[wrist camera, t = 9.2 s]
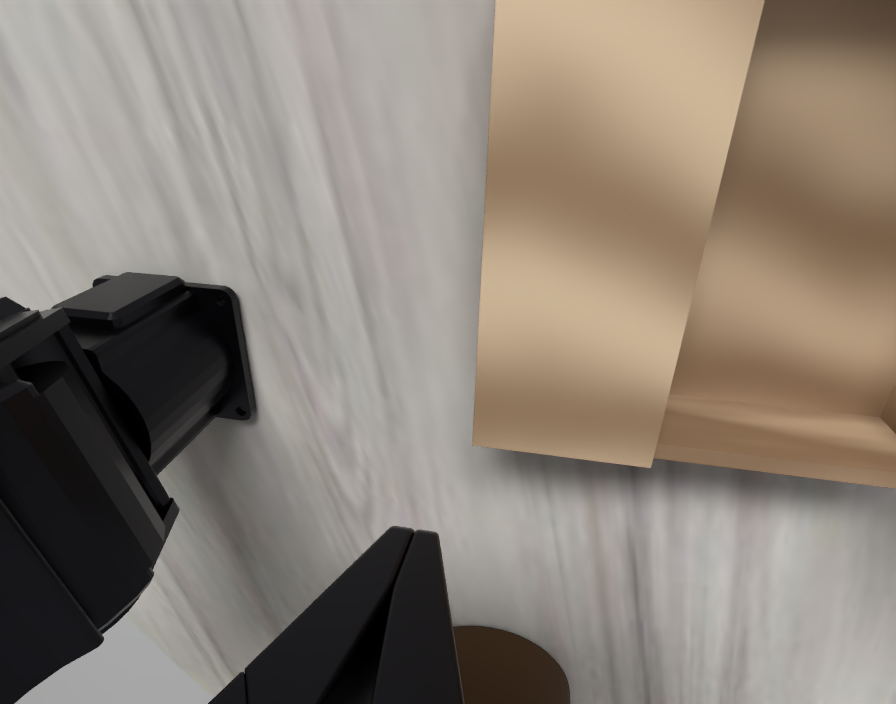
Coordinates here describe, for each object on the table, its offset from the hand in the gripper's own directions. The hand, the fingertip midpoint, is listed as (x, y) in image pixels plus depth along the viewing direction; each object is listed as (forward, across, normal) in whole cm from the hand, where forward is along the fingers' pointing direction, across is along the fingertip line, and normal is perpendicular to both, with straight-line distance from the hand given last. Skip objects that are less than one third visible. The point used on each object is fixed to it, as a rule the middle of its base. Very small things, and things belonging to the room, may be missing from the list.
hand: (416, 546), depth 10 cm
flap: (+9, -3, -4) cm, 10 cm away
